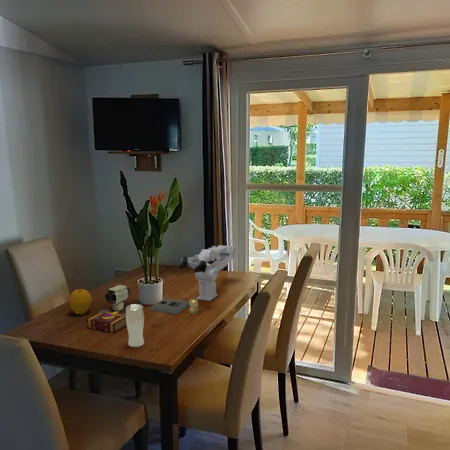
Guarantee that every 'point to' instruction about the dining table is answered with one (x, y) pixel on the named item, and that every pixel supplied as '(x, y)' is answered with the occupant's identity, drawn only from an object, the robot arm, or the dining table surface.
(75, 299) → the apple
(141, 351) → the dining table surface
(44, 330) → the dining table surface
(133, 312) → the beer glass
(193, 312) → the brass fitting
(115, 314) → the decorative book
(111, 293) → the white security camera
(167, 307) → the grey plate with cutouts
